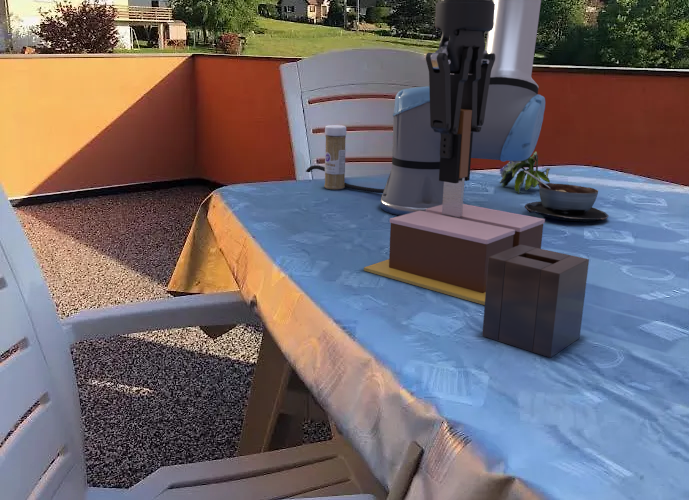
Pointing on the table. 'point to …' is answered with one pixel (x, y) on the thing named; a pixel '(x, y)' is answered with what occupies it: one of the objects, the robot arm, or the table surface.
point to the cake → (454, 248)
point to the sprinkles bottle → (335, 157)
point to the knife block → (535, 299)
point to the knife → (455, 191)
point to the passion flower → (523, 173)
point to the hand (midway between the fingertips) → (454, 180)
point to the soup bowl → (566, 202)
